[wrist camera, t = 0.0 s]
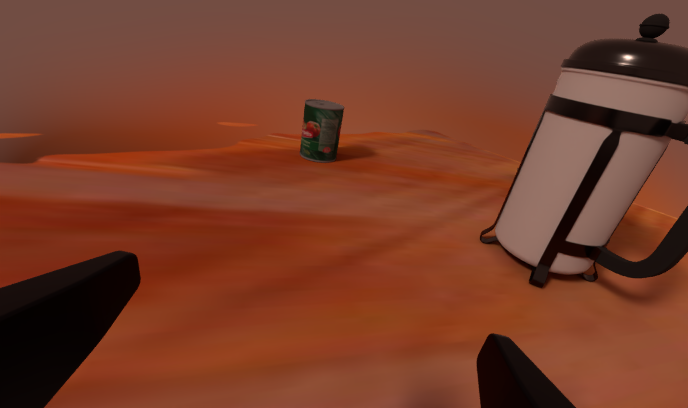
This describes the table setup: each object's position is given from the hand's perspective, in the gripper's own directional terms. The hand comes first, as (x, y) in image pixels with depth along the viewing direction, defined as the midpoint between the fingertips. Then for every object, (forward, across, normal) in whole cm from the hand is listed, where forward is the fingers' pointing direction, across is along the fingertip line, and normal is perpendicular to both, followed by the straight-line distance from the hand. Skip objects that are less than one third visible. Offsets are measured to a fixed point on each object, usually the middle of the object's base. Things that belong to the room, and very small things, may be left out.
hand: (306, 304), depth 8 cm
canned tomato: (+60, +10, +17) cm, 63 cm away
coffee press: (+34, -27, +17) cm, 46 cm away
